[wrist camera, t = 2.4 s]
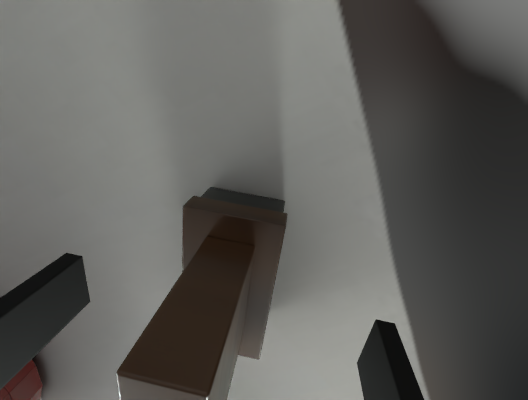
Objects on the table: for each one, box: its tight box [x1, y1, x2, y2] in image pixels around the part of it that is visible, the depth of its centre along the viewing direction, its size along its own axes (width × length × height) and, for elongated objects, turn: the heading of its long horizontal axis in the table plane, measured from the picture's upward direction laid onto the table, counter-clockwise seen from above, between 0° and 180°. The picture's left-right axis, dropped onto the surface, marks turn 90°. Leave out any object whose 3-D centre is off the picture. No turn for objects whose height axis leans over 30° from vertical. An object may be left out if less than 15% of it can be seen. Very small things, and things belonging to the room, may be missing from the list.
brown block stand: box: [116, 187, 287, 400], centre depth 11 cm, size 8×4×9 cm, turn 172°
